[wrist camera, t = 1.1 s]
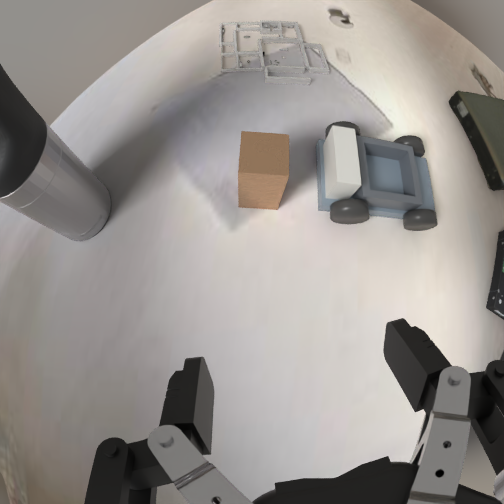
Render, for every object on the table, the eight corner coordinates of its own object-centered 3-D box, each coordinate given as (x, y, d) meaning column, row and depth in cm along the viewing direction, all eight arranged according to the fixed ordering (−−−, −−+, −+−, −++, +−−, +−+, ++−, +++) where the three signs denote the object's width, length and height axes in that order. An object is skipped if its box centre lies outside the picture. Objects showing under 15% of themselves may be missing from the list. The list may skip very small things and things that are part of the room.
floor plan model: (363, 91, 44) (366, 85, 43) (219, 86, 43) (218, 78, 41) (339, 32, 48) (341, 26, 46) (219, 27, 47) (219, 20, 45)
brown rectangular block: (238, 207, 38) (238, 172, 29) (240, 172, 39) (241, 131, 30) (277, 209, 39) (289, 175, 29) (278, 175, 40) (288, 134, 30)
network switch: (490, 100, 48) (500, 90, 43) (535, 184, 44) (548, 177, 39) (438, 102, 46) (450, 89, 41) (494, 207, 41) (511, 198, 36)
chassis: (318, 221, 38) (334, 202, 32) (315, 137, 41) (326, 109, 34) (430, 232, 39) (457, 218, 32) (418, 155, 42) (439, 134, 35)
